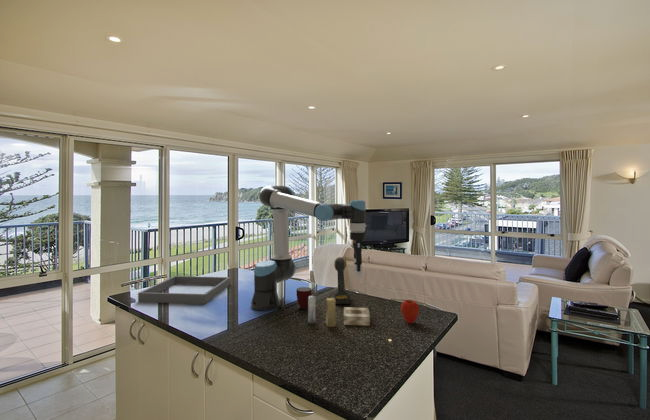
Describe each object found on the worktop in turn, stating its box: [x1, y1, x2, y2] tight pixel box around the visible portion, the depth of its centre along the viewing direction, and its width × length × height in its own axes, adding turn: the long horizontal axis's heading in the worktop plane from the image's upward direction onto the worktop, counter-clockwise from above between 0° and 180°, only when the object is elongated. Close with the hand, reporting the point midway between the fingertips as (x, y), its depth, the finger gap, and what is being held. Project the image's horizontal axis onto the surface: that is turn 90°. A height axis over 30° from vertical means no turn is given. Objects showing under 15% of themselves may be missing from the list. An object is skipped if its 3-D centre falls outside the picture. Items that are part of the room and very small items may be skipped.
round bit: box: [307, 295, 316, 324], centre depth 151 cm, size 3×3×12 cm
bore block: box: [343, 306, 371, 326], centre depth 154 cm, size 12×12×4 cm
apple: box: [400, 299, 420, 324], centre depth 151 cm, size 9×8×11 cm
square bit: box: [325, 297, 336, 328], centre depth 147 cm, size 4×4×12 cm
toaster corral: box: [137, 275, 231, 305], centre depth 195 cm, size 38×38×5 cm
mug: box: [296, 286, 313, 310], centre depth 169 cm, size 11×8×10 cm
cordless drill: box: [333, 256, 351, 305], centre depth 182 cm, size 9×20×25 cm, turn 174°
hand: (357, 274), depth 159 cm, fingers open, 13 cm apart
